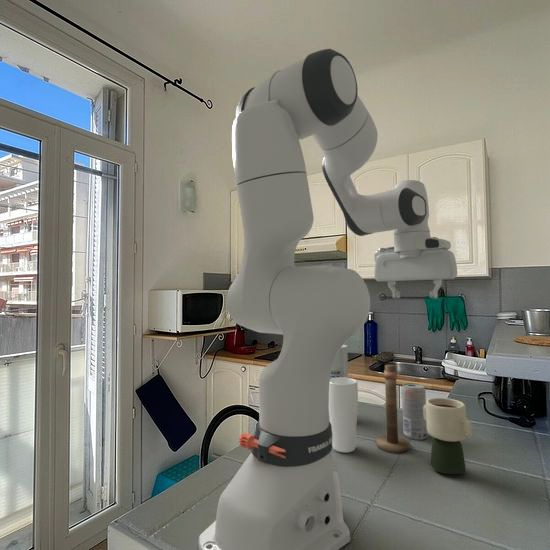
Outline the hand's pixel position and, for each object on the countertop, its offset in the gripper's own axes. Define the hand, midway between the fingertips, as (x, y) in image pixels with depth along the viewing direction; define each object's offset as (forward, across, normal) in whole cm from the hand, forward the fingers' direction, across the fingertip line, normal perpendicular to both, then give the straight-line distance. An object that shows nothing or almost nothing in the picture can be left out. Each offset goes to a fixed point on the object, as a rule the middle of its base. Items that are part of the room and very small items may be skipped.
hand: (414, 298), depth 90 cm
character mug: (+33, +11, -18) cm, 39 cm away
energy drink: (+33, 0, -6) cm, 34 cm away
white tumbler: (+33, -10, -22) cm, 41 cm away
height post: (+33, -2, -14) cm, 36 cm away
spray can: (+33, -20, -6) cm, 40 cm away
